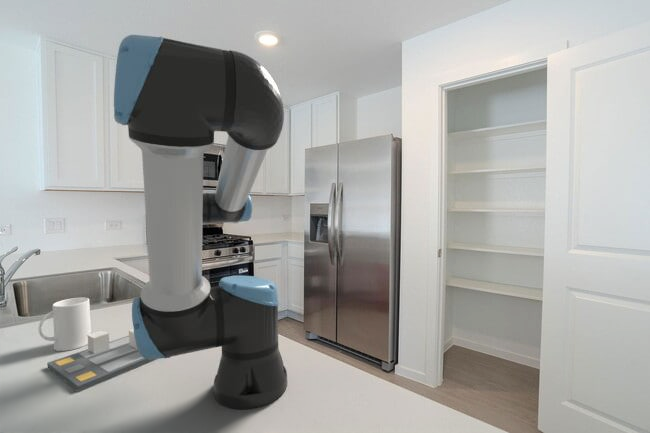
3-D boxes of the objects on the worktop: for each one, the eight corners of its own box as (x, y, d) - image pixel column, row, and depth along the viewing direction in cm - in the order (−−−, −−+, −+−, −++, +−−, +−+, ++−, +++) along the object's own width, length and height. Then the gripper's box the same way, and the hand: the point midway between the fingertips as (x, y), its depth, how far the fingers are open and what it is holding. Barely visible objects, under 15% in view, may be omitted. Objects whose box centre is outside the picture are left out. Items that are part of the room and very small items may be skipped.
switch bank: (176, 350, 87) (176, 345, 87) (78, 391, 69) (78, 385, 69) (141, 335, 97) (141, 331, 97) (47, 367, 79) (47, 362, 79)
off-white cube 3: (109, 348, 86) (108, 333, 85) (94, 353, 83) (93, 338, 82) (103, 345, 88) (102, 330, 87) (88, 350, 85) (87, 335, 84)
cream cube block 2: (149, 343, 88) (149, 328, 88) (136, 348, 85) (135, 333, 85) (142, 340, 90) (142, 326, 90) (129, 345, 87) (128, 330, 87)
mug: (45, 359, 83) (42, 312, 82) (33, 351, 88) (30, 306, 87) (98, 342, 93) (95, 300, 92) (84, 335, 97) (82, 295, 97)
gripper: (187, 239, 96) (189, 318, 98) (141, 245, 85) (145, 334, 87) (203, 241, 92) (205, 323, 94) (157, 248, 81) (161, 341, 83)
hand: (176, 328), depth 90 cm, fingers closed
